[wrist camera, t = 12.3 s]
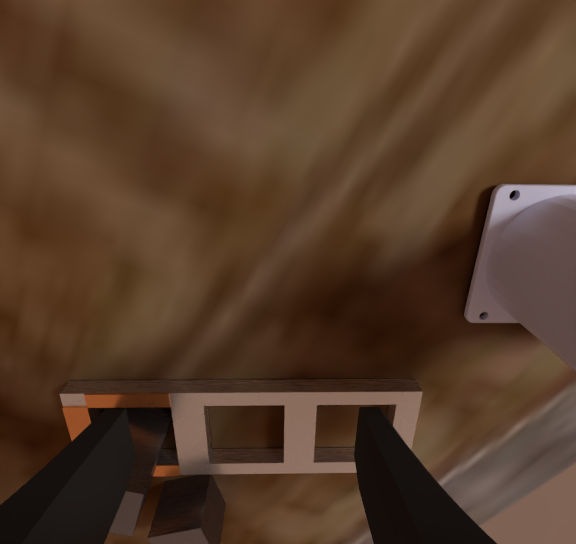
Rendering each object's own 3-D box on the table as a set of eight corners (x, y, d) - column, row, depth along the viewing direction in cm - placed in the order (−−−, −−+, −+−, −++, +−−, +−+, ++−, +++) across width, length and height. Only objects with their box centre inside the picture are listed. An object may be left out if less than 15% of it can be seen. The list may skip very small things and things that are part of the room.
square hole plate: (416, 378, 24) (423, 392, 23) (401, 457, 27) (407, 473, 26) (69, 380, 23) (58, 395, 22) (91, 460, 26) (82, 477, 25)
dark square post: (173, 408, 24) (143, 494, 19) (163, 445, 26) (132, 536, 20) (119, 396, 24) (73, 481, 18) (112, 434, 25) (66, 525, 20)
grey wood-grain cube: (210, 471, 27) (200, 528, 23) (225, 502, 28) (217, 560, 25) (165, 480, 27) (147, 538, 24) (181, 511, 29) (167, 570, 25)
